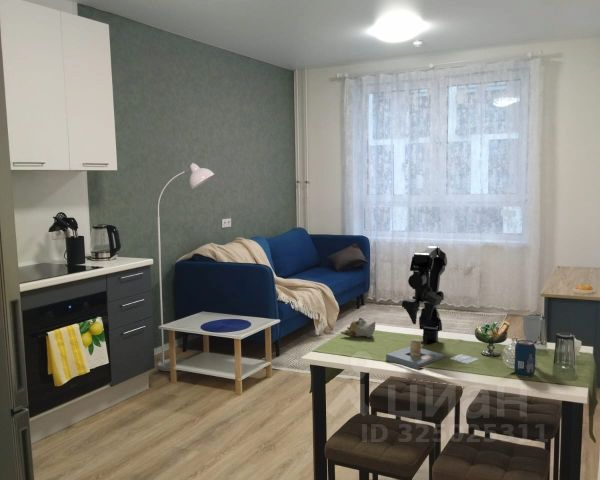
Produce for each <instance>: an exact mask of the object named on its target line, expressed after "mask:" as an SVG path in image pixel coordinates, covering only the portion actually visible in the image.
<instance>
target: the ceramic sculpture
mask: <svg viewBox="0 0 600 480" xmlns="http://www.w3.org/2000/svg"><path fill="white" fill-rule="evenodd" d="M346 328H347V329H346V330H344V331H341V332H340V334H342V335H344V336H348V337H362V336H363V337H365V336H366V337H367V338H368V339H369V338H372V337H373V334H374V332H375V330H376V321H372V322H367V321H366V320H365V319H364V318H361V317H359V318H358V320H357V319H355V320H353V321H352V322H351V323H350V325H349V326H348V327H346Z"/></svg>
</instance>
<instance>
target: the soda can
mask: <svg viewBox="0 0 600 480" xmlns="http://www.w3.org/2000/svg"><path fill="white" fill-rule="evenodd" d="M535 359H536V345H535V342H532V341H529V340H527V339H518V340H516V344H515V346H514V372H515V374H516V375H517V376H519V375H520V376H519V377H522V376H525V377H524V378H527V377H526V376H531V377H533V376H532V375H534V374H535V372H536V366H535V362H536V361H535Z"/></svg>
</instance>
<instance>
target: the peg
mask: <svg viewBox="0 0 600 480" xmlns="http://www.w3.org/2000/svg"><path fill="white" fill-rule="evenodd" d="M421 341H422V340H420V339H414V338H413V339H410V343H409V344H410V346H409V347H410V355H409V356H412V357H415V358H418V357H421V348H422V345H421V344H422V343H421Z"/></svg>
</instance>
